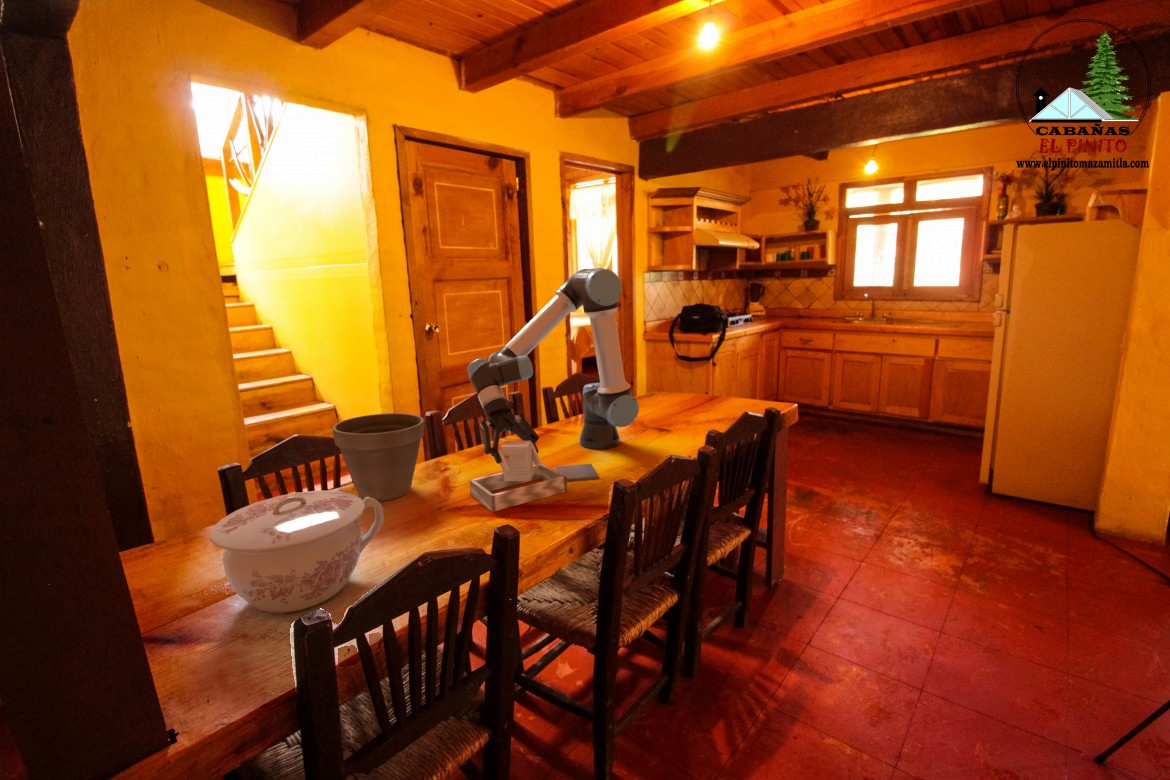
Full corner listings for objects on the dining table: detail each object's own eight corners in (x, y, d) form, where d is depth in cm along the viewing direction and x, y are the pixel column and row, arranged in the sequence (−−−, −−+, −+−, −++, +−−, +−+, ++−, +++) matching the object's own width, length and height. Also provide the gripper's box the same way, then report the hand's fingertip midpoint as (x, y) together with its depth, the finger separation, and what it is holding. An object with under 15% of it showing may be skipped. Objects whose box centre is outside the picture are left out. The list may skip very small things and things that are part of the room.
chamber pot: (188, 636, 100) (168, 530, 96) (271, 560, 127) (258, 474, 123) (343, 633, 100) (330, 526, 96) (394, 557, 127) (385, 471, 123)
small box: (534, 474, 164) (532, 440, 162) (530, 481, 159) (528, 446, 156) (507, 474, 165) (505, 440, 163) (503, 481, 159) (500, 446, 157)
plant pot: (429, 473, 181) (423, 408, 176) (429, 502, 158) (423, 428, 153) (346, 482, 174) (339, 415, 170) (334, 514, 151) (325, 437, 147)
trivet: (591, 465, 185) (591, 463, 185) (598, 478, 173) (598, 476, 173) (555, 468, 183) (555, 466, 183) (560, 481, 171) (560, 479, 171)
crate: (541, 476, 176) (540, 463, 175) (567, 491, 164) (566, 476, 163) (470, 494, 162) (469, 480, 162) (492, 511, 150) (491, 496, 149)
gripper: (523, 405, 177) (551, 465, 167) (457, 417, 164) (484, 483, 155) (530, 391, 171) (560, 452, 162) (462, 403, 159) (490, 470, 150)
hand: (522, 467), depth 158 cm, fingers closed on small box, 9 cm apart
